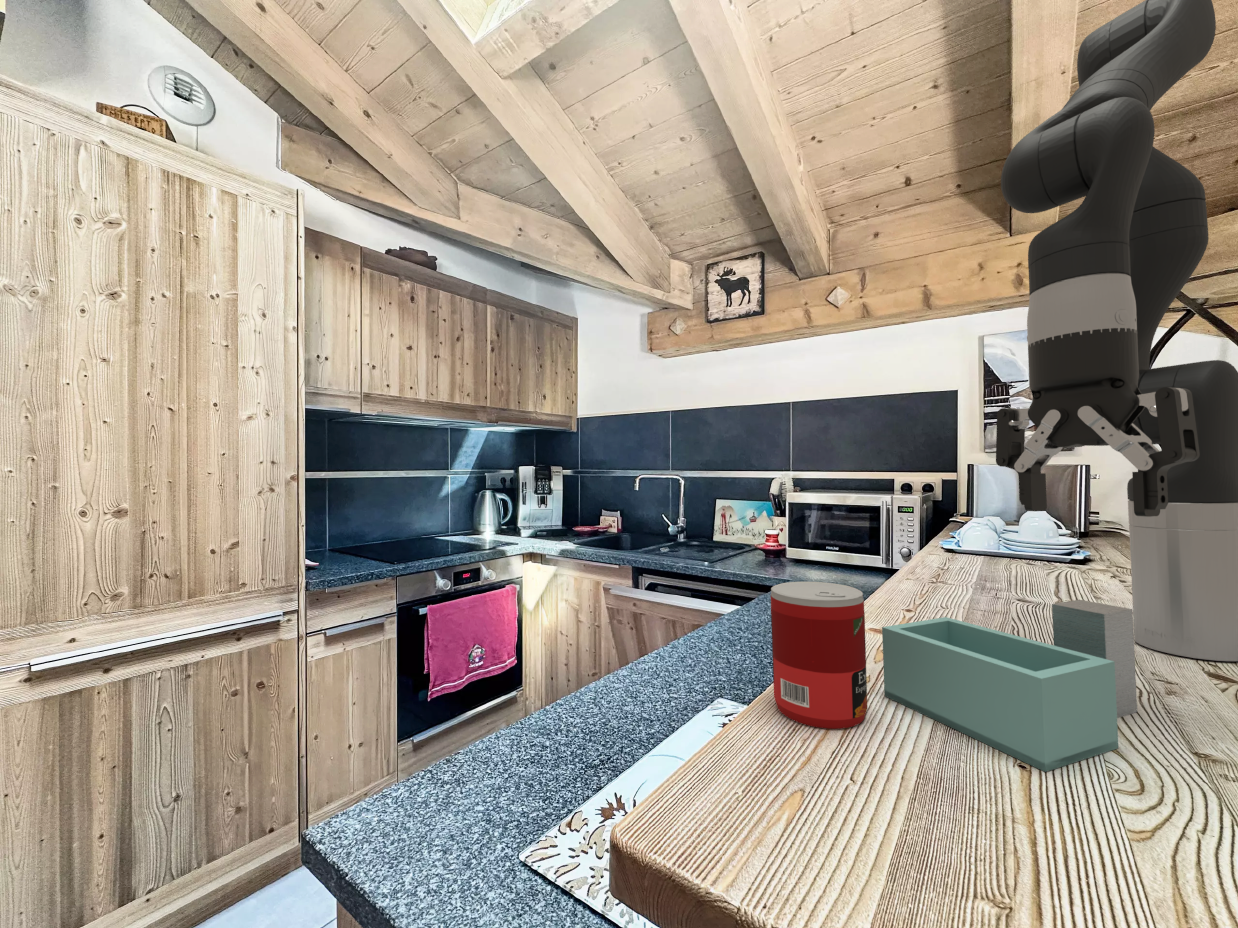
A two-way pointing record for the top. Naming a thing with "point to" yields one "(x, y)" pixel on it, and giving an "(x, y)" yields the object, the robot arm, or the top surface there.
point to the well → (1004, 689)
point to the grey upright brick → (1101, 641)
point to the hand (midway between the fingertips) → (1086, 513)
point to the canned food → (819, 653)
